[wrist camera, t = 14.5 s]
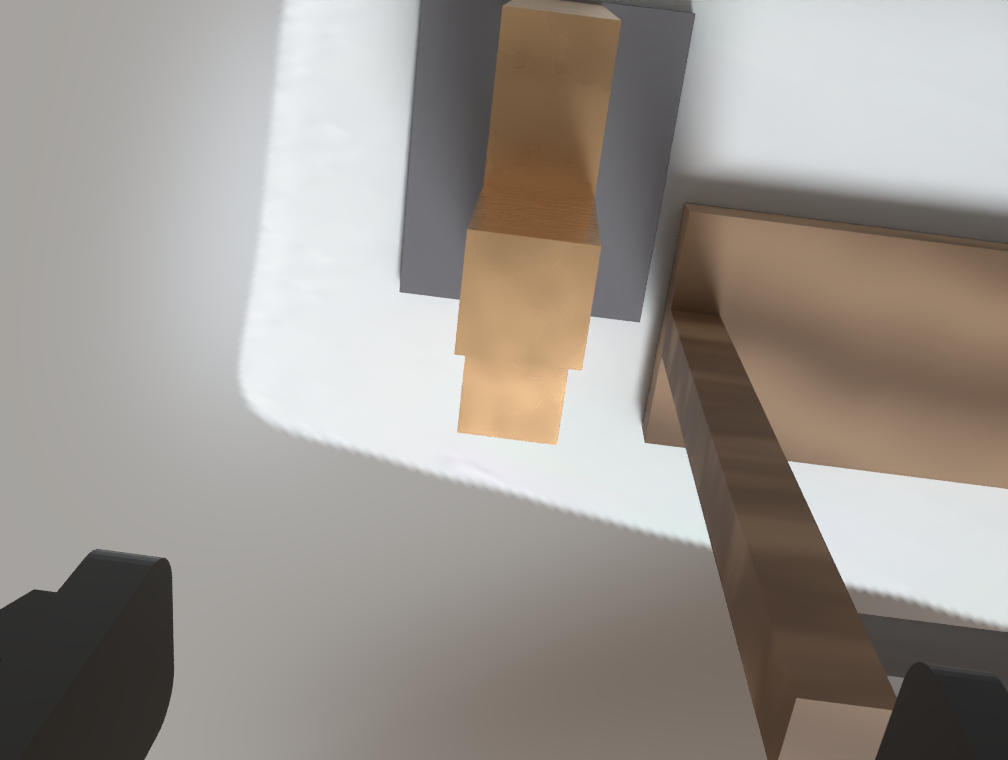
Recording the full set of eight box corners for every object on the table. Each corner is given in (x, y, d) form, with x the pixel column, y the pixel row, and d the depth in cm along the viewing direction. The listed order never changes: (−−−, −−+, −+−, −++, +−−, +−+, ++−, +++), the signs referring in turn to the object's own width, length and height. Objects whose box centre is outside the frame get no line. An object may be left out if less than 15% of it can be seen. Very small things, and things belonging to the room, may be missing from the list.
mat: (425, -21, 36) (423, -21, 35) (693, 13, 36) (695, 13, 35) (401, 287, 41) (399, 291, 40) (638, 317, 40) (639, 322, 40)
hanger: (520, -5, 35) (488, 13, 20) (602, 5, 35) (635, 31, 20) (485, 305, 40) (437, 519, 24) (557, 314, 40) (556, 534, 24)
